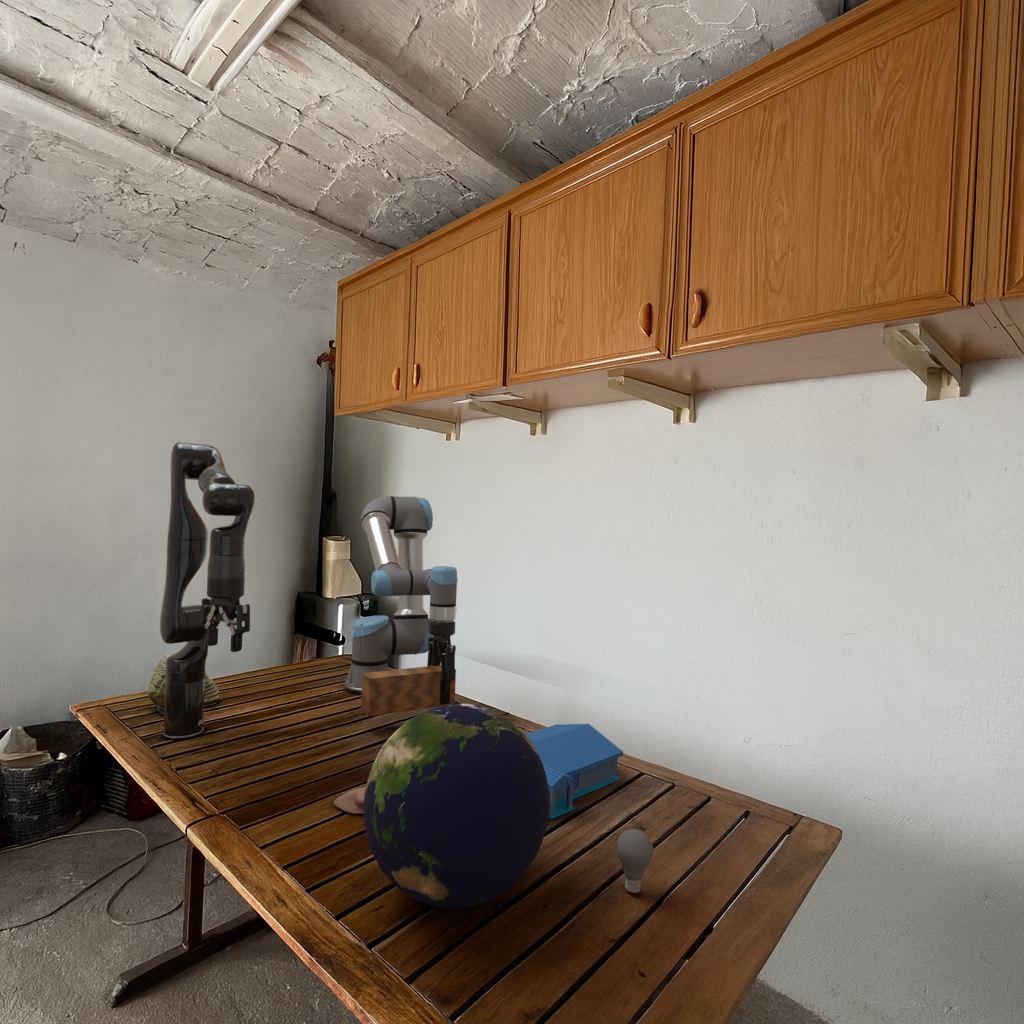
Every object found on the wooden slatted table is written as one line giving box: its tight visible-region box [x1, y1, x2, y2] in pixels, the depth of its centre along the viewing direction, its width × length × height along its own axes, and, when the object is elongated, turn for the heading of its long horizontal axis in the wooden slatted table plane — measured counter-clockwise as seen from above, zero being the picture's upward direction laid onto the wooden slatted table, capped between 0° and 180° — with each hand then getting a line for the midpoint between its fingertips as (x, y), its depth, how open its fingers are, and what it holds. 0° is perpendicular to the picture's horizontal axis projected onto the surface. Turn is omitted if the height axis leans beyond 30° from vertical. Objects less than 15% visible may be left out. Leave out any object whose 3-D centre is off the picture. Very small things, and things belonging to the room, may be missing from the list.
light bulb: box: [615, 828, 654, 894], centre depth 106 cm, size 6×6×10 cm
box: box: [360, 664, 457, 717], centre depth 177 cm, size 26×6×10 cm, turn 122°
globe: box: [363, 703, 549, 909], centre depth 103 cm, size 30×30×30 cm
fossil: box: [147, 654, 221, 711], centre depth 185 cm, size 9×18×15 cm, turn 132°
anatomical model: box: [333, 786, 366, 815], centre depth 132 cm, size 13×4×12 cm
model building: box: [524, 723, 624, 820], centre depth 142 cm, size 39×24×10 cm, turn 132°
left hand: (223, 648), depth 139 cm, fingers open, 8 cm apart
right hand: (439, 700), depth 182 cm, fingers closed on box, 6 cm apart
